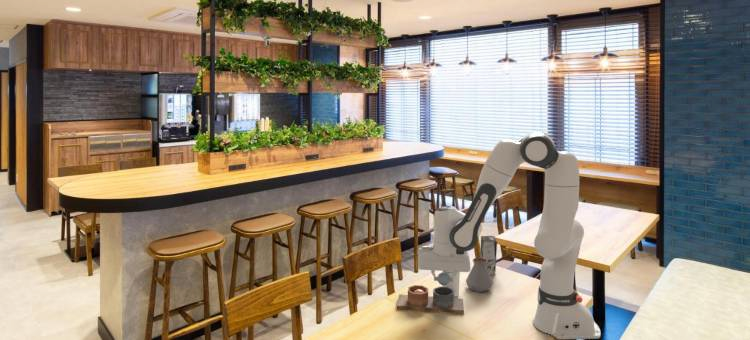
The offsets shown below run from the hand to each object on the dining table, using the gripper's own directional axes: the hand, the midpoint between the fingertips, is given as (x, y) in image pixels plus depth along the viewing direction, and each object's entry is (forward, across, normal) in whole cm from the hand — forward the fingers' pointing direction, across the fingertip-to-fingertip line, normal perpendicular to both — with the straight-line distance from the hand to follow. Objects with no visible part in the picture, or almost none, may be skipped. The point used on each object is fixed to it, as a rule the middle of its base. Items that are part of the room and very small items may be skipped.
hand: (443, 280), depth 177 cm
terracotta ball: (+7, -10, 0) cm, 12 cm away
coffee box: (+11, +21, +40) cm, 46 cm away
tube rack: (+11, -5, 0) cm, 12 cm away
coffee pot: (+11, +20, +21) cm, 31 cm away
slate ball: (-1, 0, 0) cm, 1 cm away
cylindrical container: (+11, +3, +12) cm, 17 cm away
